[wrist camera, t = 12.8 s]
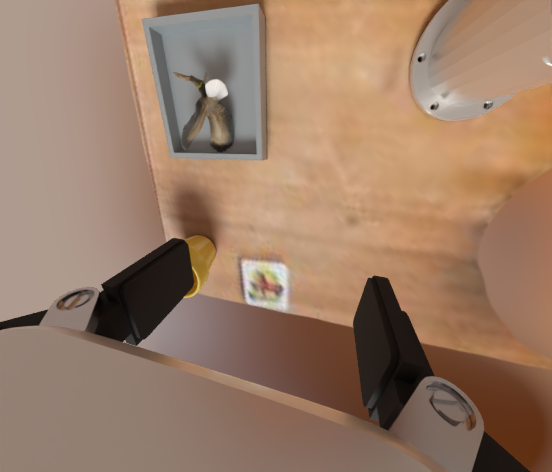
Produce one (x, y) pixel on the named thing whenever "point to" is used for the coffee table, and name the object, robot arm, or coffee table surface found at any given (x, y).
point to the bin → (212, 76)
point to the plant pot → (200, 260)
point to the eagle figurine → (209, 114)
